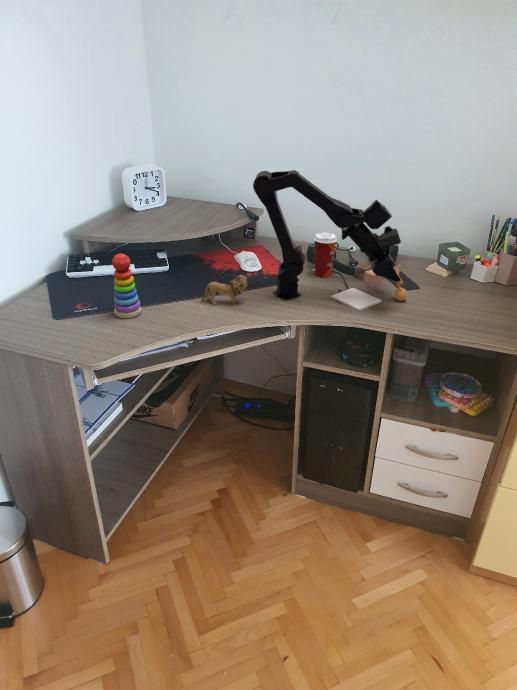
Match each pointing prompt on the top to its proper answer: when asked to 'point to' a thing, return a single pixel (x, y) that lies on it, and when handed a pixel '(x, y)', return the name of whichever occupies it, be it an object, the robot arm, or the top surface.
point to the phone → (405, 282)
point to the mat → (356, 299)
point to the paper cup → (324, 253)
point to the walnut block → (361, 271)
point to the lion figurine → (226, 289)
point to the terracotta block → (372, 278)
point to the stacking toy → (125, 288)
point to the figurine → (400, 292)
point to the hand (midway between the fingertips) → (397, 274)
